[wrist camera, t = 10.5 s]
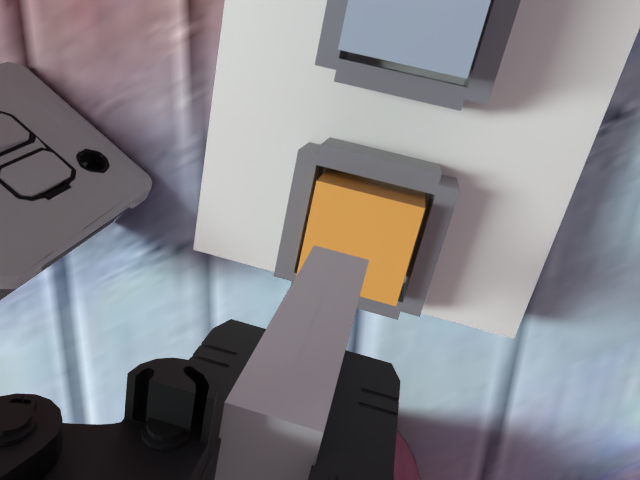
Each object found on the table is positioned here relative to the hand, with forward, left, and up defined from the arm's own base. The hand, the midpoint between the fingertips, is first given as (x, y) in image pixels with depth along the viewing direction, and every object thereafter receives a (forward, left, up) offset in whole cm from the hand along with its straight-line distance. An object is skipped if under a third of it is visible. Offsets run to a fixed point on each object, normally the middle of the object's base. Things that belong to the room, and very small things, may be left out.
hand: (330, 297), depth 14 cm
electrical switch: (+2, -16, -12) cm, 20 cm away
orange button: (0, 0, -8) cm, 8 cm away
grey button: (-8, 0, -7) cm, 11 cm away
